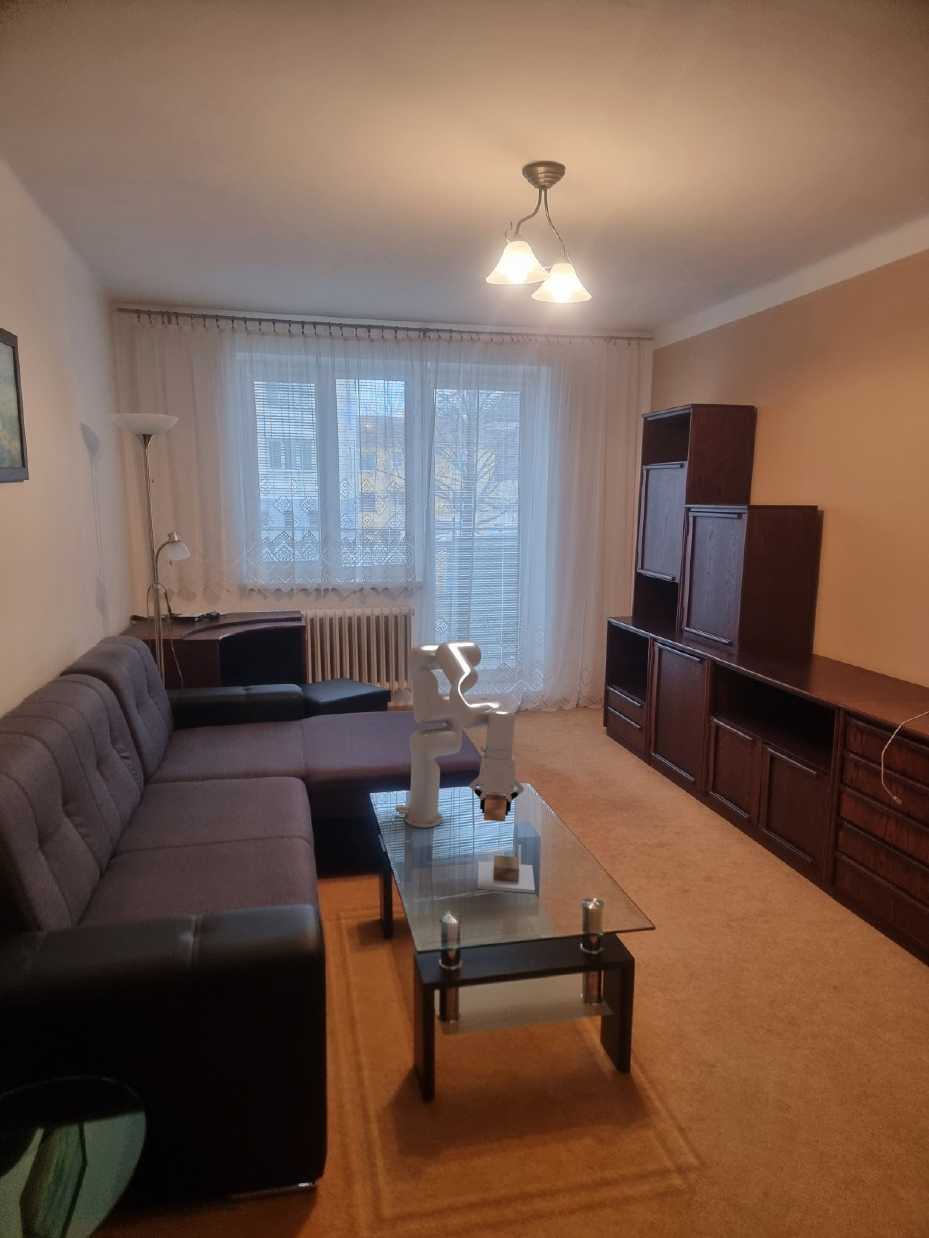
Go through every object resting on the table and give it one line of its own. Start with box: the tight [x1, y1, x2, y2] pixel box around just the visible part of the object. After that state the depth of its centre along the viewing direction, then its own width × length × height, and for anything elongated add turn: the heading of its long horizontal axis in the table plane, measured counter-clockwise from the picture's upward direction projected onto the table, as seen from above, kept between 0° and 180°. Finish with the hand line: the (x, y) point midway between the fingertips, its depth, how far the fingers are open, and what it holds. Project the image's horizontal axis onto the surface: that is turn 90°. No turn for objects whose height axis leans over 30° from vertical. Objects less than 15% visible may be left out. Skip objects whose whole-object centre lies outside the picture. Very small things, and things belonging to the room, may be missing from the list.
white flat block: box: [476, 855, 536, 894], centre depth 219 cm, size 16×14×5 cm
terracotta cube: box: [483, 792, 507, 823], centre depth 216 cm, size 6×6×6 cm
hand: (494, 811), depth 216 cm, fingers closed on terracotta cube, 6 cm apart
